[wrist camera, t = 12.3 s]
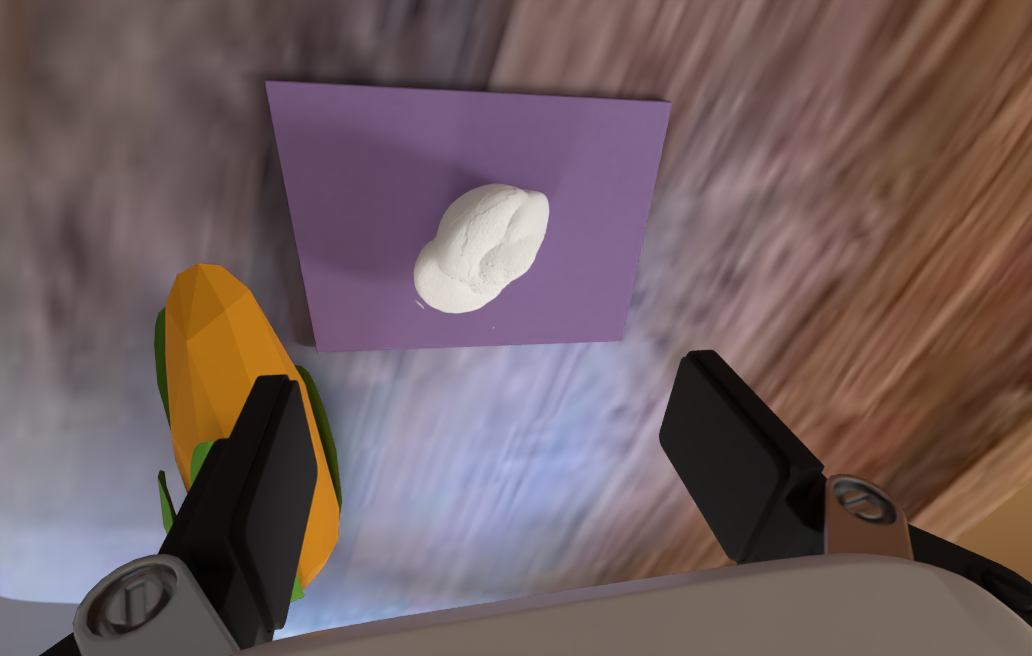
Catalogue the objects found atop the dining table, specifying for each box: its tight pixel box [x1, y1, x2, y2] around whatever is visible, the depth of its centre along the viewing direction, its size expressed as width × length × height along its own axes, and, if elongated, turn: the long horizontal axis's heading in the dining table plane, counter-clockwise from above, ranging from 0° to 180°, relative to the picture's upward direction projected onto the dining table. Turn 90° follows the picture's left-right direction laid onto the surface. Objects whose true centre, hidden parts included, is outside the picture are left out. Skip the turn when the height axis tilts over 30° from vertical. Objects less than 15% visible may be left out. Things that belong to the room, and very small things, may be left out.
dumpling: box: [414, 183, 549, 328], centre depth 20 cm, size 7×5×4 cm
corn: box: [154, 263, 342, 602], centre depth 22 cm, size 7×8×20 cm
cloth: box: [265, 80, 672, 352], centre depth 22 cm, size 16×12×1 cm
